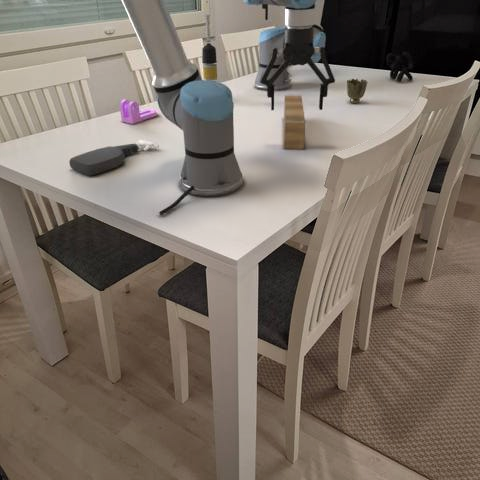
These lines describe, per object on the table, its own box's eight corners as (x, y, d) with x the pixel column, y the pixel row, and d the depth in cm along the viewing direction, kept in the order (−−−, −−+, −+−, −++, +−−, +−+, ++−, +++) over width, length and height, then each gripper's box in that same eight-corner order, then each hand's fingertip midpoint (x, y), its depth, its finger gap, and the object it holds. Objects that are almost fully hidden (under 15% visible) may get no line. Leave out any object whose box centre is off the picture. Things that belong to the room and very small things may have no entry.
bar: (303, 149, 130) (305, 122, 125) (284, 148, 130) (285, 122, 126) (300, 118, 155) (301, 95, 151) (283, 118, 155) (284, 95, 151)
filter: (220, 99, 177) (217, 15, 161) (206, 100, 176) (202, 16, 160) (215, 96, 182) (212, 14, 166) (202, 97, 180) (197, 14, 164)
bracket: (132, 123, 152) (129, 103, 148) (121, 121, 155) (118, 100, 151) (160, 114, 161) (157, 95, 157) (149, 112, 164) (147, 92, 160)
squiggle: (400, 92, 202) (376, 71, 205) (417, 76, 202) (392, 56, 205) (405, 81, 191) (380, 59, 194) (423, 64, 191) (397, 42, 194)
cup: (342, 103, 169) (344, 81, 165) (347, 99, 174) (350, 77, 170) (361, 106, 166) (364, 83, 162) (366, 101, 171) (369, 79, 167)
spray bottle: (67, 168, 120) (139, 144, 136) (91, 178, 114) (163, 151, 130) (65, 157, 118) (137, 134, 134) (89, 167, 112) (162, 142, 128)
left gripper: (346, 23, 118) (339, 104, 129) (252, 26, 120) (253, 105, 131) (350, 27, 112) (342, 112, 123) (250, 30, 114) (252, 112, 125)
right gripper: (327, -56, 144) (322, 17, 155) (250, -54, 146) (250, 18, 157) (329, -56, 138) (323, 20, 149) (249, -55, 140) (249, 21, 151)
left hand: (296, 108), depth 127 cm, fingers open, 13 cm apart
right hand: (286, 19), depth 153 cm, fingers open, 13 cm apart
